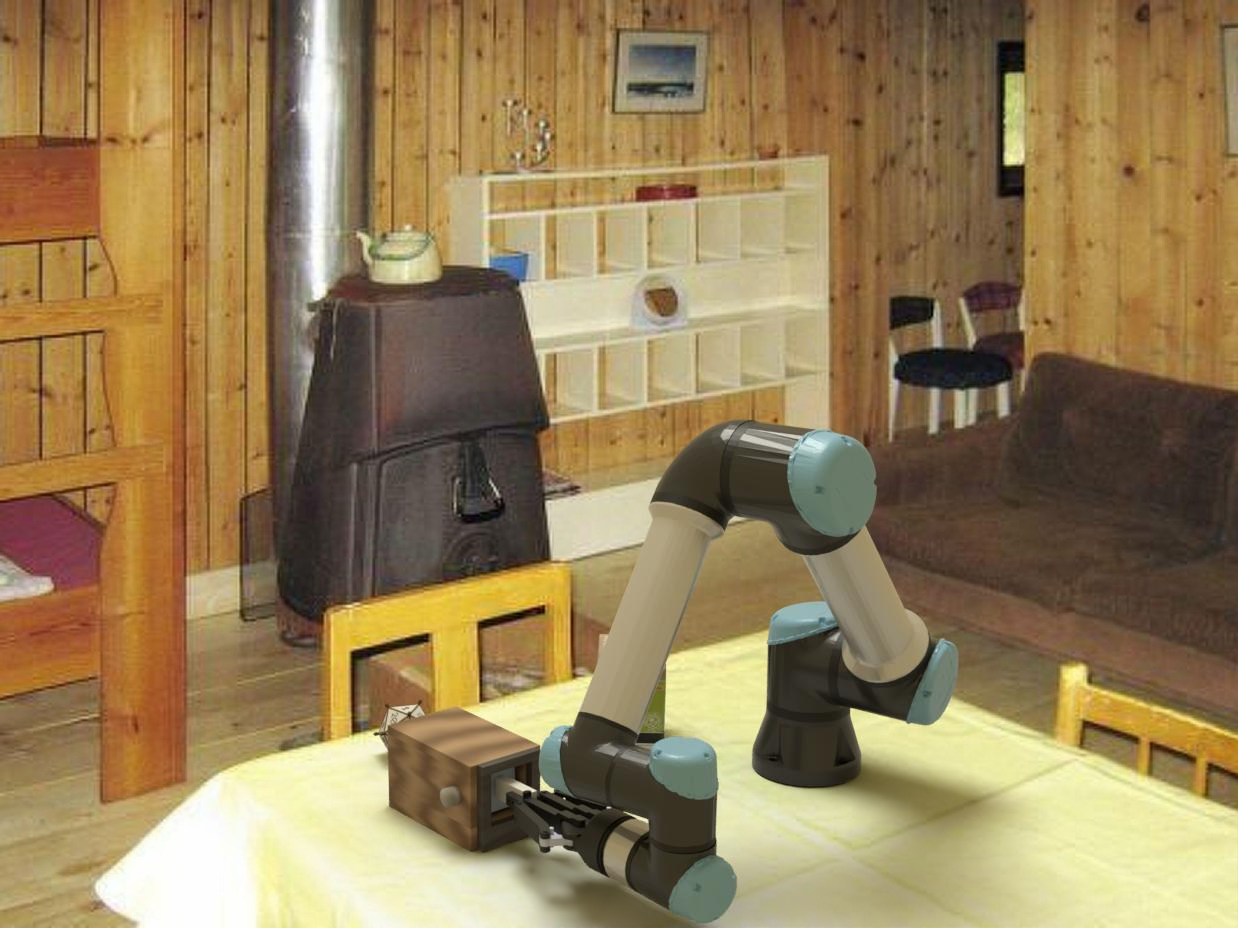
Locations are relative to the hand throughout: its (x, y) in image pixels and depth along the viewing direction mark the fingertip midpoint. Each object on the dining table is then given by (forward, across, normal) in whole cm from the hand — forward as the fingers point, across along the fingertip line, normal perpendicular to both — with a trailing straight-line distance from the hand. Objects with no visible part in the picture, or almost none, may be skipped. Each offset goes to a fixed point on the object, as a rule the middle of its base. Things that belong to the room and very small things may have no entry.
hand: (500, 786), depth 222 cm
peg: (+8, 0, -3) cm, 8 cm away
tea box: (+12, +33, -7) cm, 35 cm away
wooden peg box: (+8, 0, -7) cm, 10 cm away
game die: (+29, +6, -7) cm, 30 cm away
